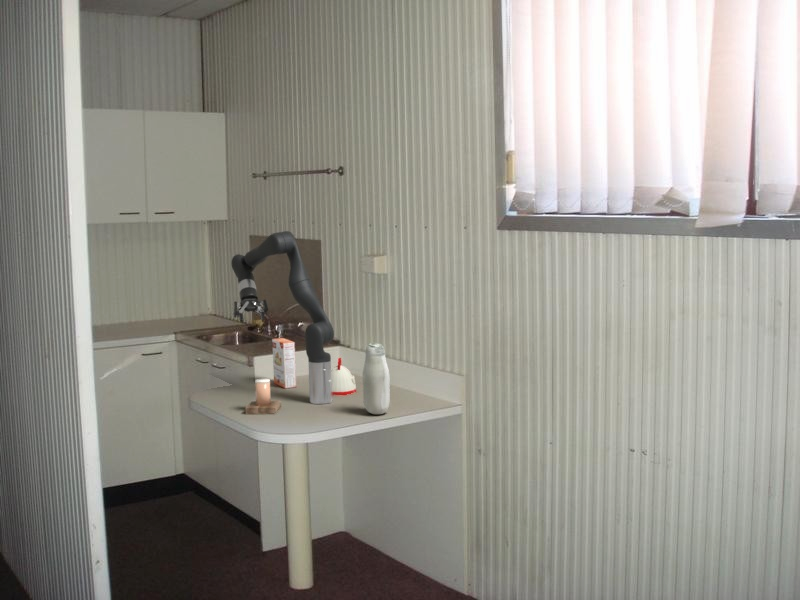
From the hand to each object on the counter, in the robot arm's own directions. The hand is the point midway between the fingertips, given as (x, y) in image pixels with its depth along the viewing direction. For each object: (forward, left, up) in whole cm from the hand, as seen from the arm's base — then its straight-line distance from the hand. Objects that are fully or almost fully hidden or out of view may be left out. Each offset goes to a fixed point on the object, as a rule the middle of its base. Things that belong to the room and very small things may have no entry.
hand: (252, 321), depth 393 cm
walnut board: (-9, +26, -33) cm, 42 cm away
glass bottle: (-55, +33, -33) cm, 72 cm away
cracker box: (-9, -23, -33) cm, 41 cm away
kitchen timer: (-36, -8, -33) cm, 49 cm away
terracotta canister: (-9, +26, -30) cm, 40 cm away
